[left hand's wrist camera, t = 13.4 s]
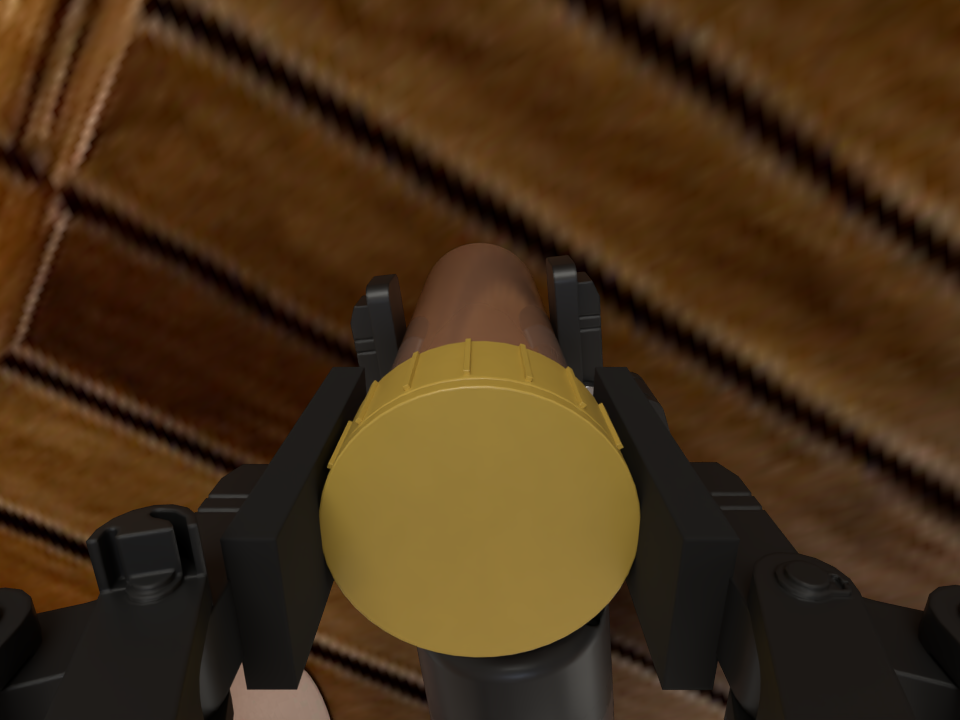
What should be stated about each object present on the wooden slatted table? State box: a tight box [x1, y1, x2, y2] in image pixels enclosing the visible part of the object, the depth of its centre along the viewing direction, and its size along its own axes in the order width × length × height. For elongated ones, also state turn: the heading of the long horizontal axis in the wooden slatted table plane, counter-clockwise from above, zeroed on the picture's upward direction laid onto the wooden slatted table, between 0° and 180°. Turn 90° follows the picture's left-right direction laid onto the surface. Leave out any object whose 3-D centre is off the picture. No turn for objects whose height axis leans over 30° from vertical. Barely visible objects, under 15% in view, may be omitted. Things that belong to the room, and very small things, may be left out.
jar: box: [390, 243, 568, 371], centre depth 18 cm, size 5×5×16 cm
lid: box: [319, 338, 640, 657], centre depth 11 cm, size 6×6×2 cm
